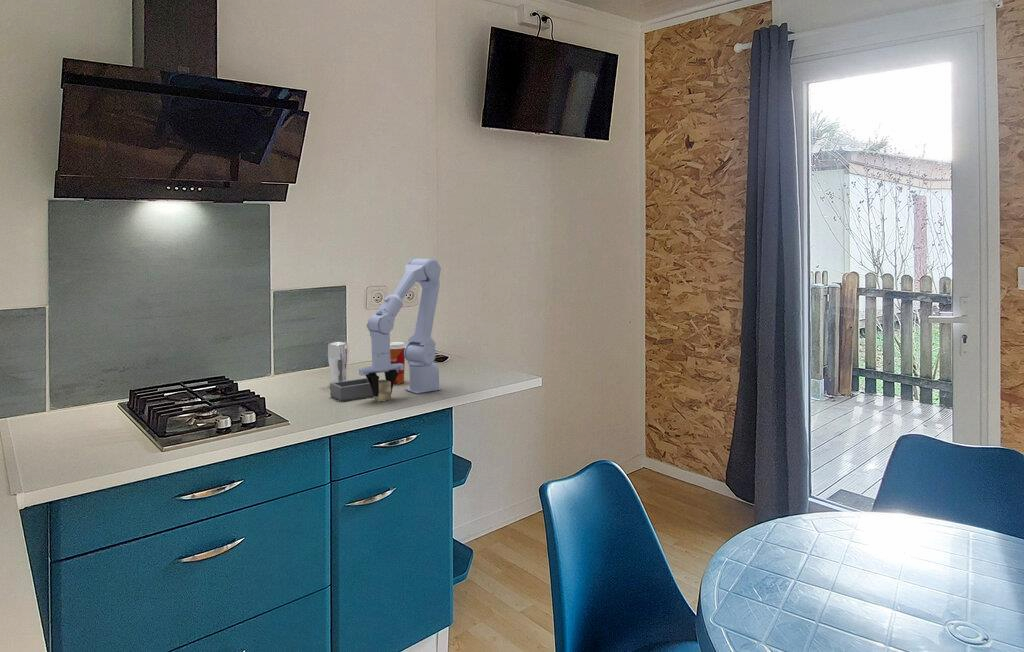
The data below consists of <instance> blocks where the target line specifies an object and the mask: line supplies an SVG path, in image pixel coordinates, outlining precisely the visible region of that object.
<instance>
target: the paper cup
mask: <svg viewBox="0 0 1024 652" xmlns="http://www.w3.org/2000/svg"><path fill="white" fill-rule="evenodd" d="M406 346H407V345H406V344H405V342H401V341H392V342H391V341H390V359H391V364H398V363H402V364H404V366H405V360H406V359H405V357H404V350H405V347H406ZM396 372H398V376H397V378H396V380H395V382H394V385H399V384H398V383H401V384H404V383H405V369H404V370H396ZM403 382H404V383H403Z"/></svg>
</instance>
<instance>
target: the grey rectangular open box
mask: <svg viewBox="0 0 1024 652" xmlns="http://www.w3.org/2000/svg"><path fill="white" fill-rule="evenodd" d="M329 390H330V391H329V392H330V393H329V394H330V395H329V396H331V397H330V398H332V397H333V398H332V399H334V398H335V399H334V400H336V399H337V400H336V401H338V400H339V401H338V402H340V401H341V402H340V403H342V401H343V402H348V400H349V401H354V400H353V399H356V400H361V399H360V398H362V399H366V398H365V397H368V398H372V397H371V396H373V391H372V388H371V385H370V383H369V381H368V379H367V378H366V377H363V378H357V379H350V380H348V381H341V382H334V383H331V382H330V383H329Z"/></svg>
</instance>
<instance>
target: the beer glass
mask: <svg viewBox="0 0 1024 652" xmlns="http://www.w3.org/2000/svg"><path fill="white" fill-rule="evenodd" d="M327 358H328V359H327V361H328V366H329V370H330V373H331V375H330V376H331V378H330V380H331V381H330V383H334V382H341V381H348V368H349V362H350V361H349V360H350V359H349V358H350V353H349V344H348V342H347V341H334V342H328V343H327Z"/></svg>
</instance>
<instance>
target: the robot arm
mask: <svg viewBox="0 0 1024 652" xmlns="http://www.w3.org/2000/svg"><path fill="white" fill-rule="evenodd" d="M441 270H442V267H441V265H440V264H439V262H438V260H436V259H435V258H416V257H413V258H410V259H409V260H408V262H407V263H406V265H405V266H404V274H403V275H402V277H401V278H400V281H399V282H398V284H397V286H396V288H395V289H394V292H393V293H392V294H389V295H387V296H385V297H384V299H383V302H382V303H381V305H380V306H379V308H378V309H377V311H376V313H374V314H373V315H371V316H370V317H369V318H368V320H367V323H366V328H367V330H368V332H369V335H370V339H371V364H372V365H370V366H366V367H363V368H358V375H359V376H364V377H365V378H367V379H368V381H369V383H370V385H371V388H372V391H373V396H376V397H377V396H378V382H379V380H380V376H379V375H378V374H379V373H380V374H382V373H384V380H388V381H390V382H391V395H392V394H393V393H392V392H393V388H394V385H395V384H394V382H395V380H396V378H397V376H398V372H396V370H404V371H405V365H404V364H402V363H398V364H391V359H390V342H391V334H390V332H391V331H392V330H394V325H395V320H396V317H397V316H398V314H399V312H400V311H401V309H402V308H403V305H404V303H403V299H404V298H405V297H406V295H407V294H408V293H409V291H410V290H411V289H412V288H413V286H414V285H415V284H416V283H418V284H419V286H420V287H421V288H422V289H421V296H420V301H419V304H418V305H419V307H418V311H417V318H416V324H415V329H414V330H415V331H414V334H413V335H412V336H410V337H409V338H408V341H407V343H406V345H405V346H406V347H405V350H404V357H405V360H406V361H407V364H408V365H409V369H408V370H409V386H408V387H405V388H404V390H406V391H409V392H410V393H412V394H413V393H414V394H422V393H429V392H434V391H440V390H441V388H440V371H439V367H438V365H437V363H436V362H434V361H435V360H436V356H437V355H436V354H437V353H436V345H437V343H436V341H434V339H433V338H432V331H433V325H434V320H435V315H436V314H435V313H436V309H437V302H438V297H439V291H440V276H441Z"/></svg>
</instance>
